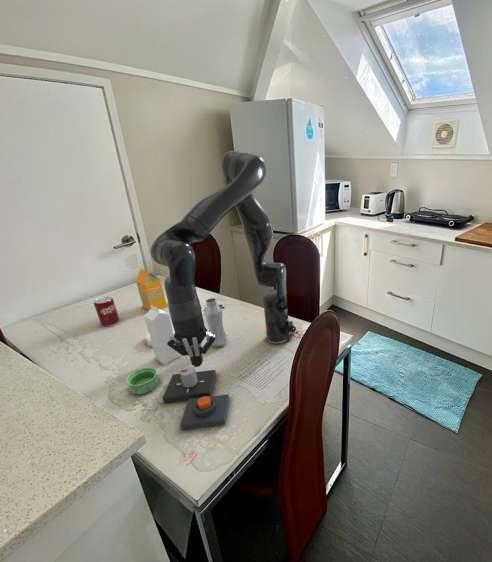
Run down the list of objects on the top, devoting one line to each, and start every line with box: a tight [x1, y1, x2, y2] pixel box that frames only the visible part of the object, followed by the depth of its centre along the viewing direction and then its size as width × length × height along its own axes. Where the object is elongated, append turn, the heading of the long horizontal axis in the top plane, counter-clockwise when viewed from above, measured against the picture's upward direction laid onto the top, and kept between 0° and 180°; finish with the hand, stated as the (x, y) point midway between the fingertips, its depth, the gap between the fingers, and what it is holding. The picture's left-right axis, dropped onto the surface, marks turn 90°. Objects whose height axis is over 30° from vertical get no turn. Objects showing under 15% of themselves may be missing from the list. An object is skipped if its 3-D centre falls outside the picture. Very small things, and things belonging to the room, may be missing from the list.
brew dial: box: [179, 365, 197, 388], centre depth 101 cm, size 4×4×5 cm
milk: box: [143, 305, 180, 365], centre depth 114 cm, size 6×6×22 cm
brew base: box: [162, 369, 217, 405], centre depth 103 cm, size 14×11×3 cm
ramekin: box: [125, 366, 159, 395], centre depth 104 cm, size 9×9×4 cm
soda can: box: [93, 296, 120, 328], centre depth 140 cm, size 7×7×12 cm
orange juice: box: [135, 268, 168, 311], centre depth 153 cm, size 8×9×20 cm
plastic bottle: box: [203, 297, 228, 347], centre depth 123 cm, size 6×7×20 cm
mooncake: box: [144, 325, 175, 348], centre depth 130 cm, size 12×12×4 cm
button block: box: [179, 393, 230, 431], centre depth 93 cm, size 12×10×4 cm
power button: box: [197, 396, 211, 410], centre depth 92 cm, size 4×4×2 cm
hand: (198, 364), depth 89 cm, fingers closed
